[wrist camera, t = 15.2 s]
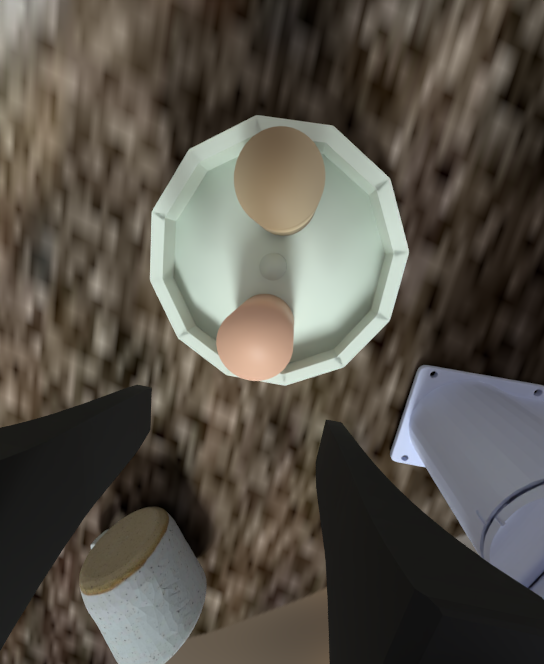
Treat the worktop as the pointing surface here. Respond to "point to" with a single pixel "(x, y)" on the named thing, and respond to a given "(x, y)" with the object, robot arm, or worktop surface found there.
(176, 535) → the ceramic mug
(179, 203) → the groove tray
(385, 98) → the worktop surface
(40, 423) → the robot arm
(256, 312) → the peach rounded oval piece
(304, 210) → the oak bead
